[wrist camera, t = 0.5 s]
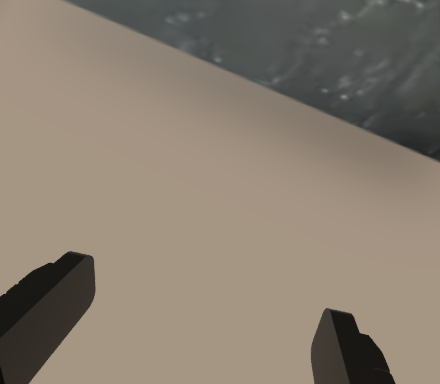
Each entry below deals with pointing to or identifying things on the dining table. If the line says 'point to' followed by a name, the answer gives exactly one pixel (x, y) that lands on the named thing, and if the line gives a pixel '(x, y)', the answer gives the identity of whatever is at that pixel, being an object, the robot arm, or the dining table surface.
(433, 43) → the dining table surface
